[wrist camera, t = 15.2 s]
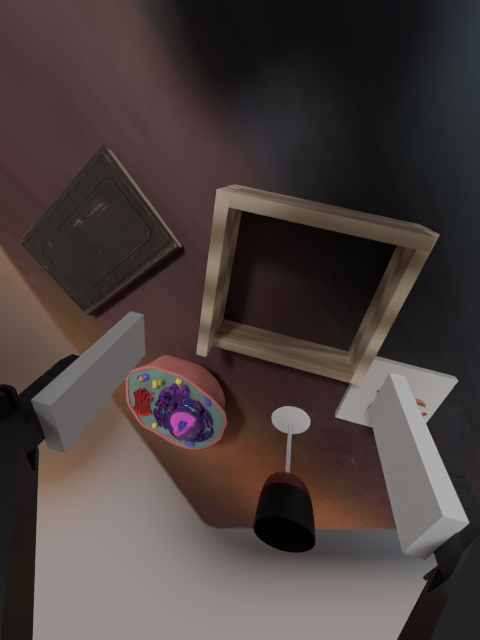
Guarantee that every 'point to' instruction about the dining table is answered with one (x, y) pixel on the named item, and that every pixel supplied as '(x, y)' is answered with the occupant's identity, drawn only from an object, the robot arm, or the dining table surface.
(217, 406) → the cell model
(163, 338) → the dining table surface
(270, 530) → the wineglass
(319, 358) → the frame
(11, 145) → the dining table surface
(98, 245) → the hardcover book
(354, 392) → the tile
